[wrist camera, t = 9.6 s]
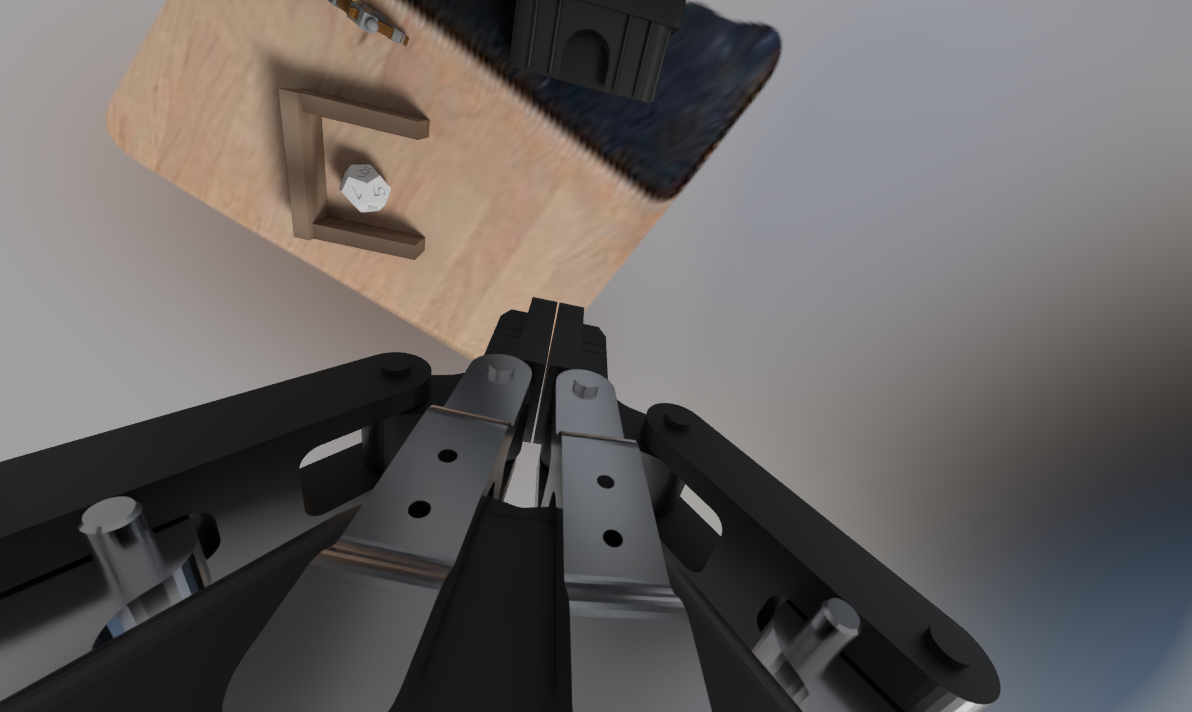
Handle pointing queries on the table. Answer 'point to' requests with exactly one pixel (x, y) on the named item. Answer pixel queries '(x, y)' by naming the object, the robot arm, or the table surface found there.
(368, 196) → the game die
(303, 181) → the dice corral
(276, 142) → the table surface
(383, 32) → the wooden post with brackets
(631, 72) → the end cap
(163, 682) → the robot arm
